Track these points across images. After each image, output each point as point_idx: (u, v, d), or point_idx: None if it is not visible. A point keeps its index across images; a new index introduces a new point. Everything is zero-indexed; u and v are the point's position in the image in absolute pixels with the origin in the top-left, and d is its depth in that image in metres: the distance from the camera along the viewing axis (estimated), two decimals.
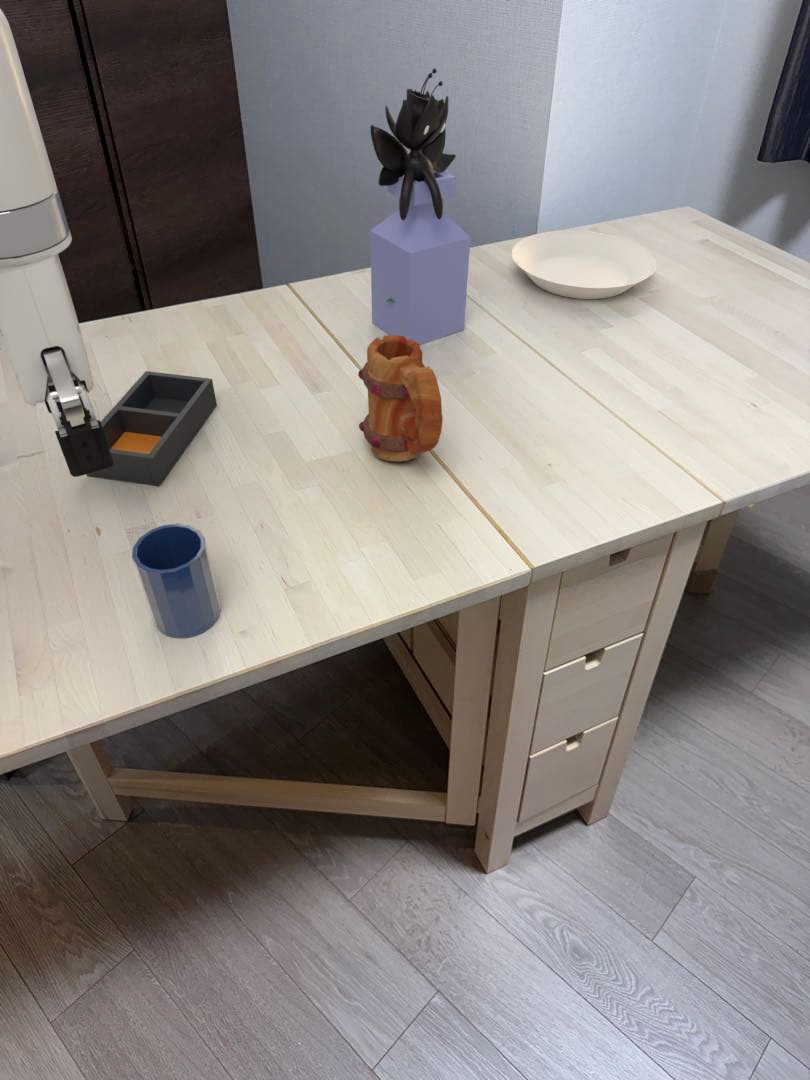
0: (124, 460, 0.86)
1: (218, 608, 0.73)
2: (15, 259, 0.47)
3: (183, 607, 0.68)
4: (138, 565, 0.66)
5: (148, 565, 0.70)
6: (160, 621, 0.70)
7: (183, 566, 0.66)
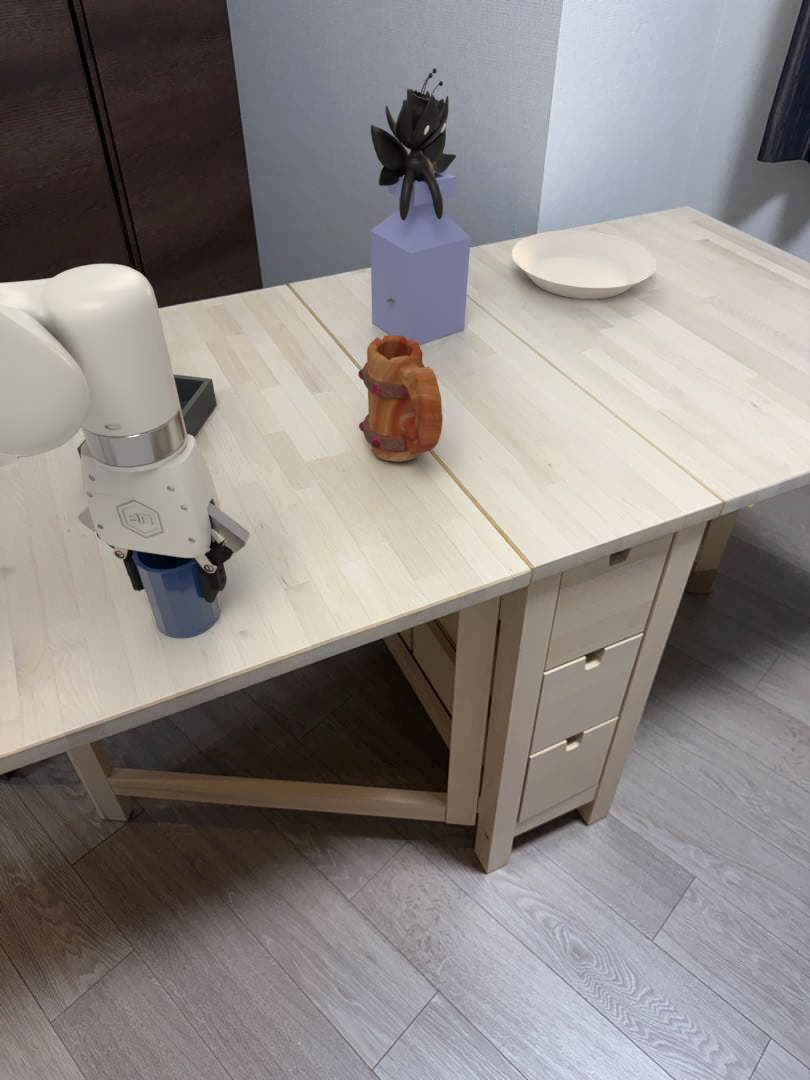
0: None
1: (218, 608, 0.73)
2: (181, 447, 0.59)
3: (183, 607, 0.68)
4: (138, 565, 0.66)
5: (148, 565, 0.70)
6: (160, 621, 0.70)
7: (183, 566, 0.66)
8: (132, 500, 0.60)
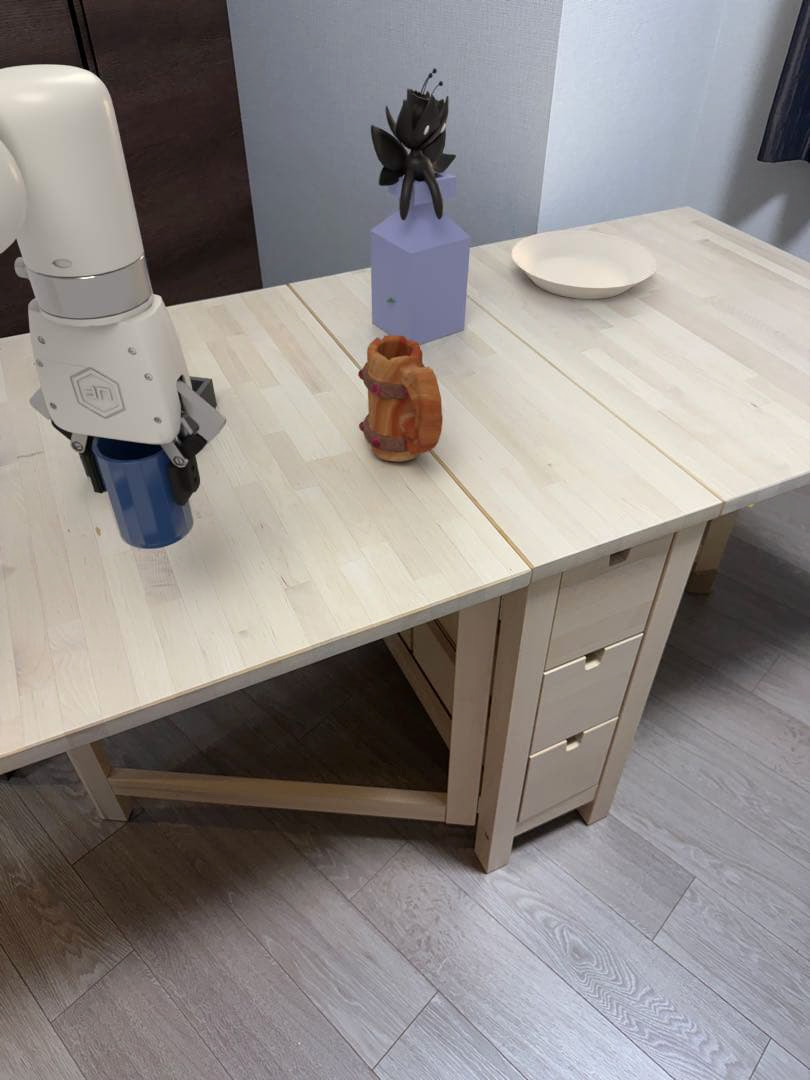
0: None
1: (191, 518, 0.64)
2: (145, 303, 0.50)
3: (150, 509, 0.60)
4: (98, 456, 0.57)
5: None
6: (124, 528, 0.62)
7: (149, 457, 0.57)
8: (88, 368, 0.52)
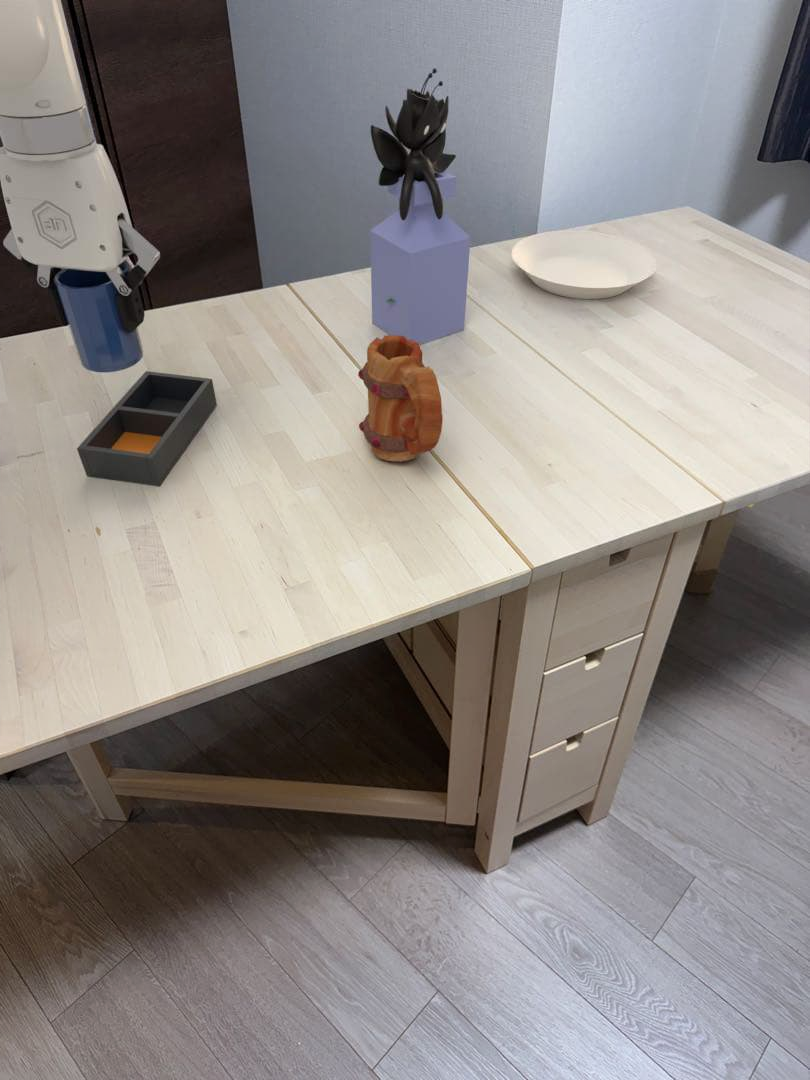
0: (124, 460, 0.86)
1: (140, 350, 0.78)
2: (88, 146, 0.64)
3: (103, 334, 0.74)
4: (58, 285, 0.71)
5: None
6: (83, 353, 0.76)
7: (99, 285, 0.71)
8: (45, 202, 0.66)
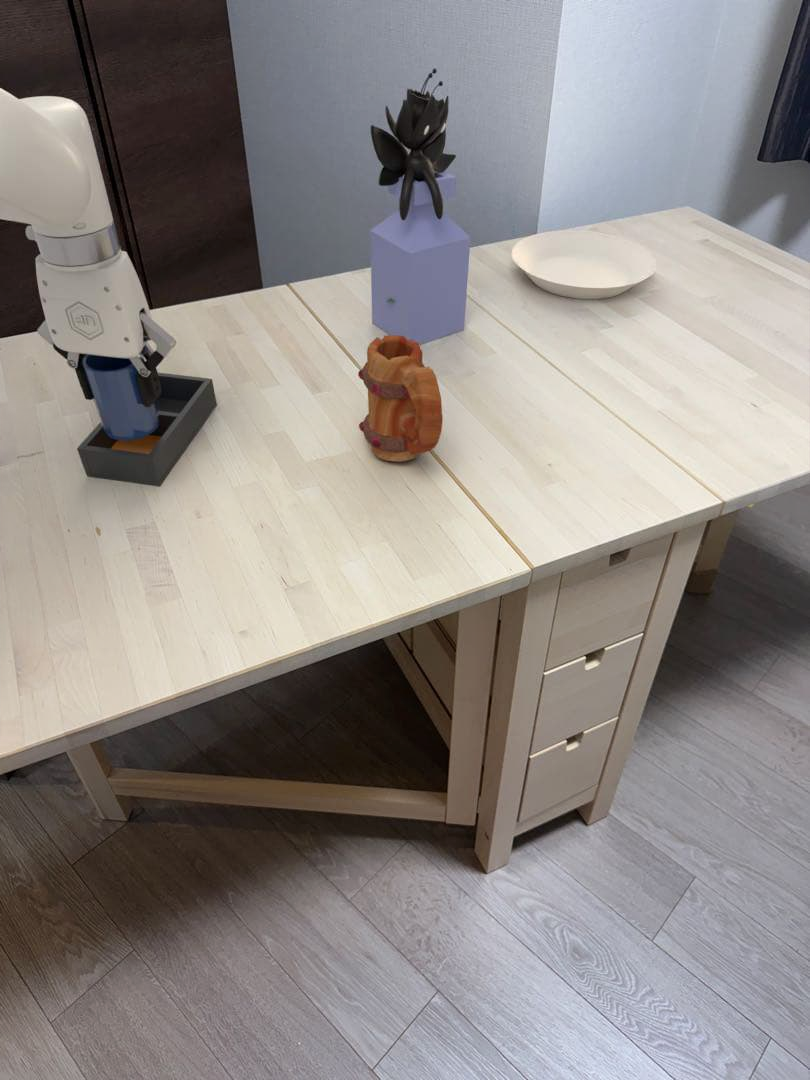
0: (124, 460, 0.86)
1: (157, 419, 0.88)
2: (114, 256, 0.74)
3: (125, 408, 0.84)
4: (86, 368, 0.81)
5: None
6: (107, 424, 0.85)
7: (123, 368, 0.81)
8: (77, 302, 0.75)
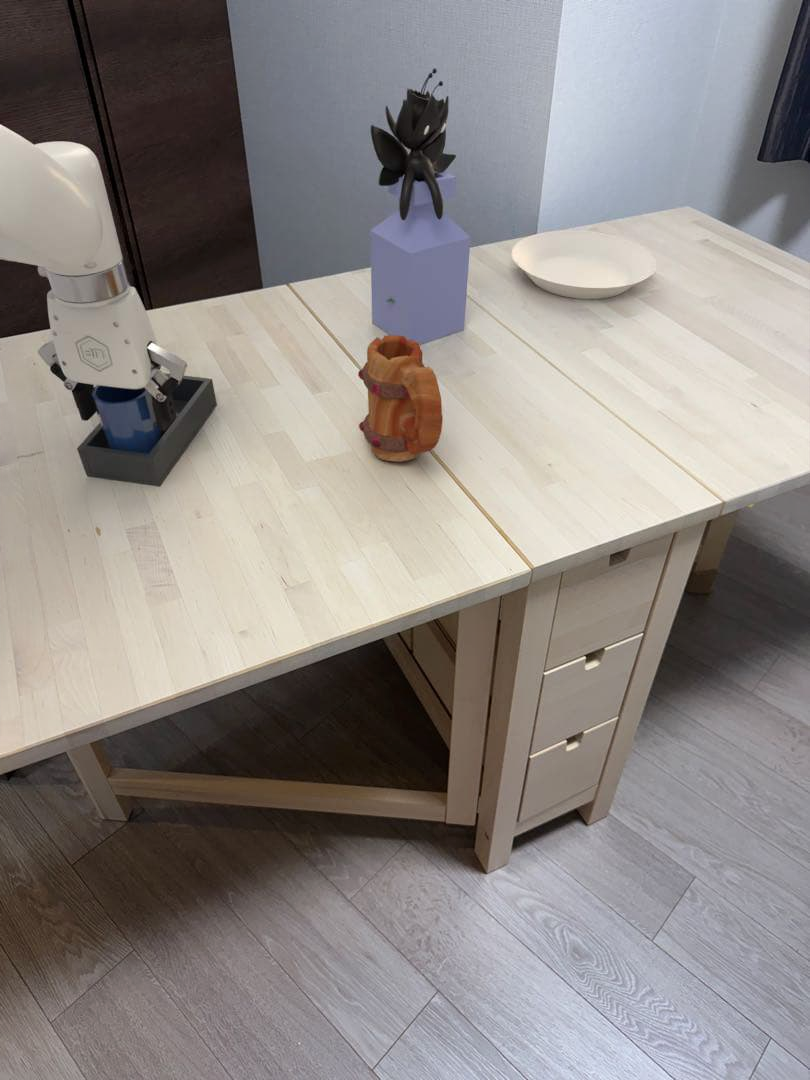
0: (124, 460, 0.86)
1: None
2: (124, 292, 0.76)
3: (133, 438, 0.86)
4: (96, 400, 0.84)
5: None
6: None
7: (131, 400, 0.84)
8: (87, 336, 0.78)
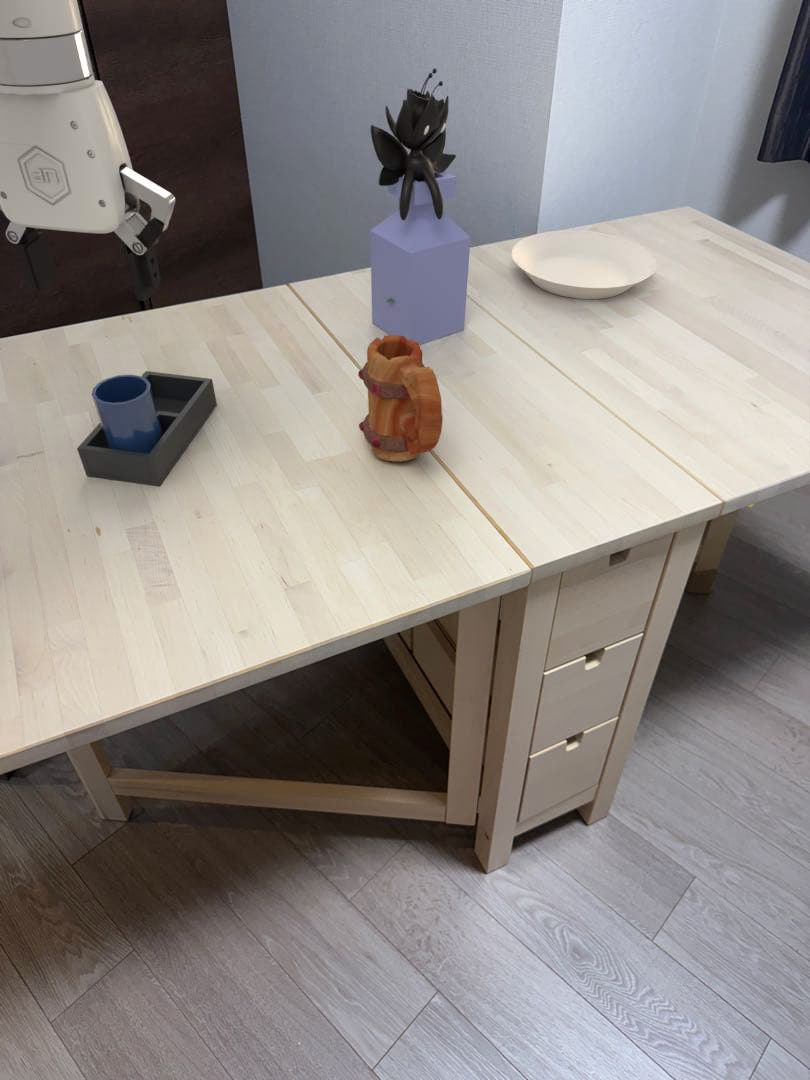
0: (124, 460, 0.86)
1: None
2: (85, 80, 0.54)
3: (133, 438, 0.86)
4: (96, 400, 0.84)
5: None
6: None
7: (131, 400, 0.84)
8: (34, 147, 0.55)
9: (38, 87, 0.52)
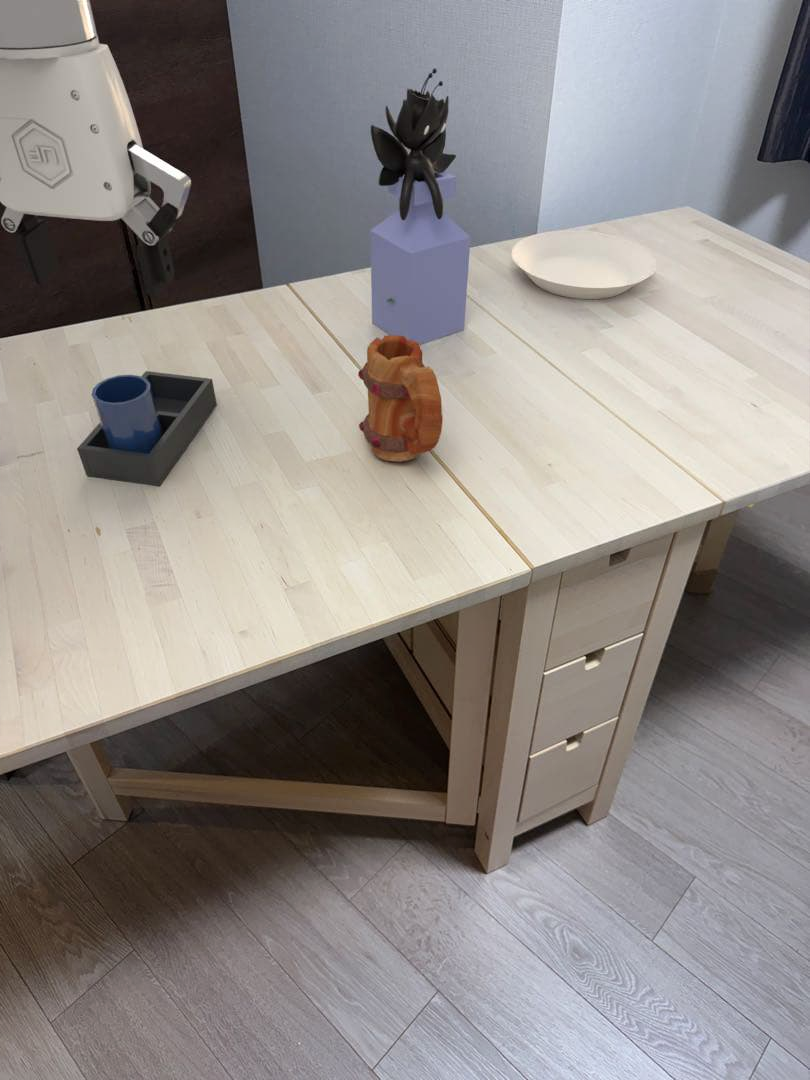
0: (124, 460, 0.86)
1: None
2: (88, 43, 0.47)
3: (133, 438, 0.86)
4: (96, 400, 0.84)
5: None
6: None
7: (131, 400, 0.84)
8: (30, 121, 0.48)
9: (33, 50, 0.45)
